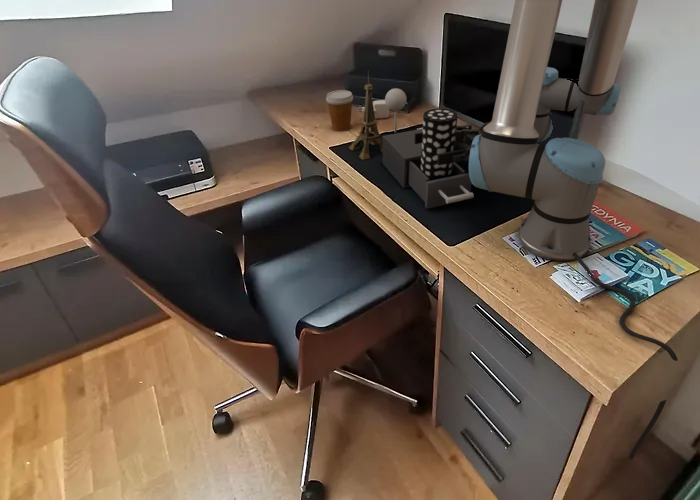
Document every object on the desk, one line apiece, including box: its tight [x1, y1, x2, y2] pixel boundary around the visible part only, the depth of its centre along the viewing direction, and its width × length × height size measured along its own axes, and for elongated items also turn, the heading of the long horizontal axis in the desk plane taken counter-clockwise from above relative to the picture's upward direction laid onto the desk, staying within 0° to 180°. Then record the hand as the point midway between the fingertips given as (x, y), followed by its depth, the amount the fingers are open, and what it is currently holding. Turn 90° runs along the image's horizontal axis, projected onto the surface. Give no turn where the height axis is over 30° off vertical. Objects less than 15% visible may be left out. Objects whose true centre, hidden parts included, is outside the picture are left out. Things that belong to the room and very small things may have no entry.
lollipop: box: [384, 87, 407, 134], centre depth 156 cm, size 7×7×15 cm
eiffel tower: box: [348, 70, 383, 161], centre depth 143 cm, size 11×11×25 cm
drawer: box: [407, 158, 475, 209], centre depth 122 cm, size 21×12×7 cm, turn 18°
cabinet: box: [382, 128, 423, 189], centre depth 134 cm, size 17×14×9 cm
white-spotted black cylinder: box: [421, 108, 459, 181], centre depth 119 cm, size 8×8×20 cm
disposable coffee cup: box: [325, 89, 354, 132], centre depth 163 cm, size 10×10×12 cm
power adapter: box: [358, 99, 390, 120], centre depth 171 cm, size 11×5×6 cm, turn 94°
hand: (426, 148), depth 118 cm, fingers open, 13 cm apart
